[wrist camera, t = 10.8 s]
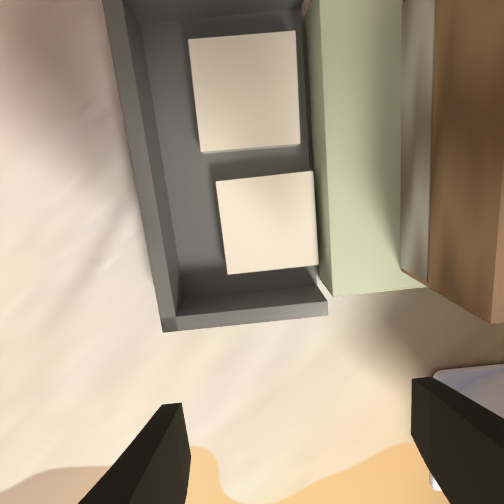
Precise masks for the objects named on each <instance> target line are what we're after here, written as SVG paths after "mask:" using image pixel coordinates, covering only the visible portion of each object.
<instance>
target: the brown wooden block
mask: <svg viewBox="0 0 504 504" xmlns="http://www.w3.org/2000/svg"><path fill="white" fill-rule="evenodd" d="M400 268H401V271H402V272H404V273H405V274H407V275H409V276H410V277H412V278H414V279H415V280H417V281H419V282H420V283H422V284H424V285H425V286H427V287H429V288H431V289H432V290H434V291H436V292H437V293H439V294H441V295H442V296H444V297H446V298H447V299H449V300H451V301H452V302H454V303H456V304H458V305H459V306H461V307H463V308H464V309H466V310H468V311H469V312H471V313H473V314H474V315H476V316H478V317H479V318H481V319H483V320H485V321H486V322H488V323H490V324H497V323H504V0H403V4H402V47H401V204H400Z"/></svg>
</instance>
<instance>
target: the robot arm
mask: <svg viewBox="0 0 504 504" xmlns="http://www.w3.org/2000/svg"><path fill="white" fill-rule="evenodd" d="M411 435H412V437H413V439H414V441H415V443H416V445H417V448H418V450H419V452H420V454H421V456H422V458H423V459H424V461H425V463H426V465H427V467H428V469H429V471H430V476H429V477H430V479H429V483H430V485H431V487H432V488H433V489H434V490H436V491H443V493H444V494H445V496H446V497H447V499H448V501H449V502H450V504H504V364H496V365H486V366H476V367H466V368H457V369H447V370H439V371H437V372H436V373H435V374H434V375H433V377H425V378H415V379H412V404H411ZM190 461H191V453H190V448H189V442H188V436H187V431H186V425H185V419H184V414H183V408H182V403H173V404H164V405H161V407H160V408H159V409H158V410H157V411H156V413H155V414H154V415H153V416H152V418H151V419H150V420H149V421H148V423H147V424H146V425H145V426H144V428H143V429H142V430H141V431H140V433H139V434H138V435H137V436H136V438H135V439H134V440H133V441H132V443H131V444H130V445H129V446H128V447H127V449H126V450H125V451H124V452H123V453H122V455H121V456H120V457H119V458H118V459H117V461H116V462H115V463H114V464H113V465H112V467H111V468H110V469H109V470H108V471H107V472H106V473H105V475H104V476H103V477H102V478H101V479H100V480H99V481H98V482H97V484H96V485H95V486H94V487H93V488H92V489H91V490H90V491H89V492H88V493H87V494H86V496H85V497H84V498H83V499H82V500H81V501H80V502H79V503H78V504H185V500H186V495H187V488H188V480H189V472H190V463H191V462H190Z"/></svg>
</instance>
